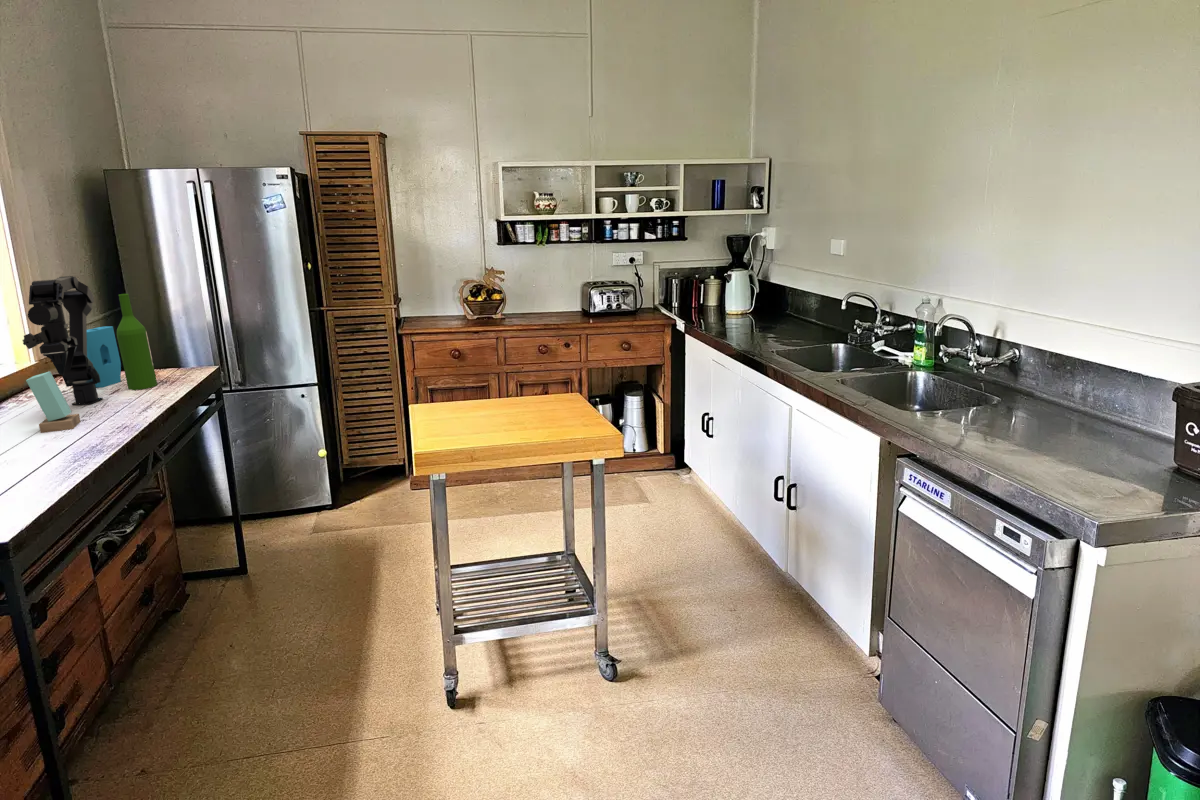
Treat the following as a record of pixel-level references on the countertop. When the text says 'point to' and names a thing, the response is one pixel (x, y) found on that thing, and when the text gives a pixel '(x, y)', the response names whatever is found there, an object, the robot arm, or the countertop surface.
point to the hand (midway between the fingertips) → (65, 372)
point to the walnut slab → (60, 423)
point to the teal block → (49, 396)
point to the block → (104, 355)
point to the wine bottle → (135, 349)
